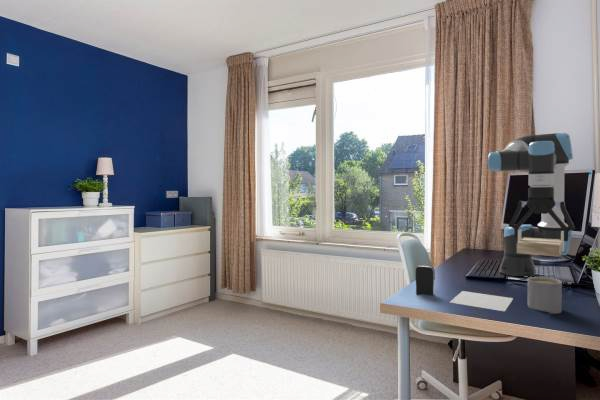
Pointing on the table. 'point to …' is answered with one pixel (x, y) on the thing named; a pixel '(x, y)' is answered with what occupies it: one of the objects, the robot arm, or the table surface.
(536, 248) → the board
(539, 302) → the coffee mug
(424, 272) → the battery
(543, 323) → the table surface
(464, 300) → the grey mat
